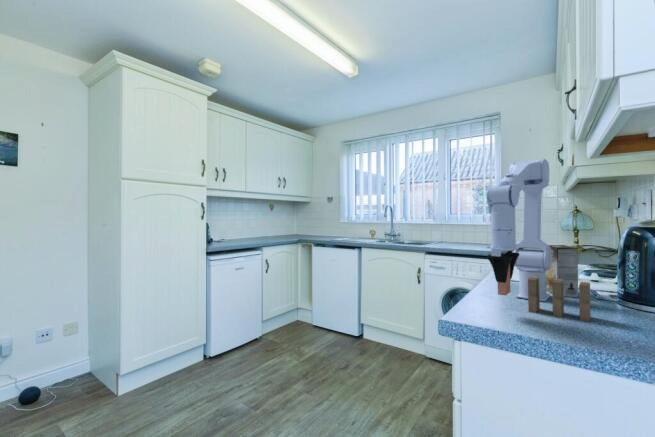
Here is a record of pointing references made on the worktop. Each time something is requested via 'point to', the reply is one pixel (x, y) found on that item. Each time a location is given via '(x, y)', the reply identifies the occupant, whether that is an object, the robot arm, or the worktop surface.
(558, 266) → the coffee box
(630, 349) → the worktop surface
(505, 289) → the domino
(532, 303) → the domino
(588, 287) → the domino
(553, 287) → the domino
